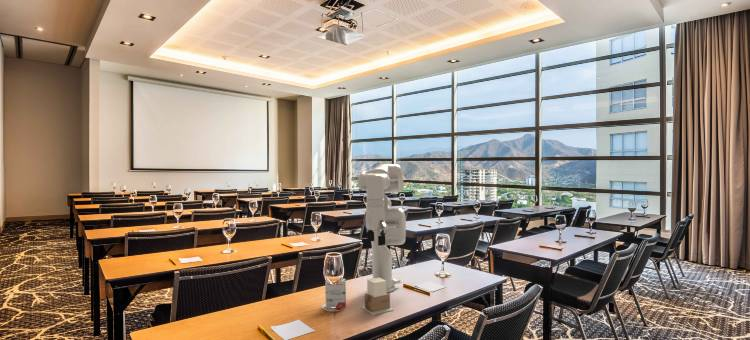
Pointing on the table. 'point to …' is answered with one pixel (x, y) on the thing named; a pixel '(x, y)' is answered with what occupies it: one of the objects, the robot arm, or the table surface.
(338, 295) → the ink box
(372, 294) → the cream brick
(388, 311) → the mat
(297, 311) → the table surface
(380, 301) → the walnut brick
